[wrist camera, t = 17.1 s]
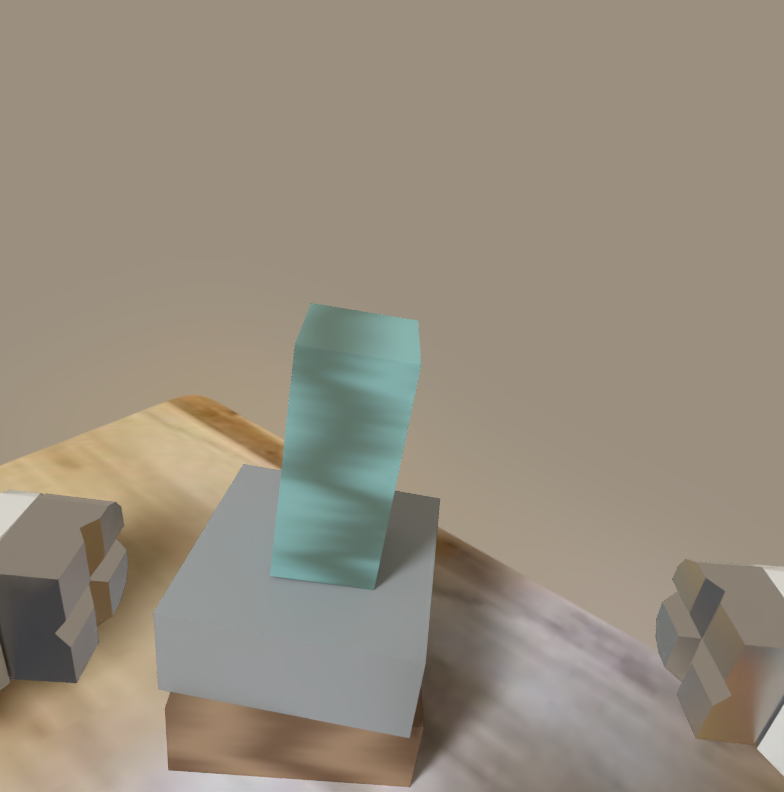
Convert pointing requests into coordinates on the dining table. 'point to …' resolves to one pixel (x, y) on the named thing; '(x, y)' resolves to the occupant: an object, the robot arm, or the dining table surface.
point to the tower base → (284, 744)
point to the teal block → (343, 444)
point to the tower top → (299, 618)
